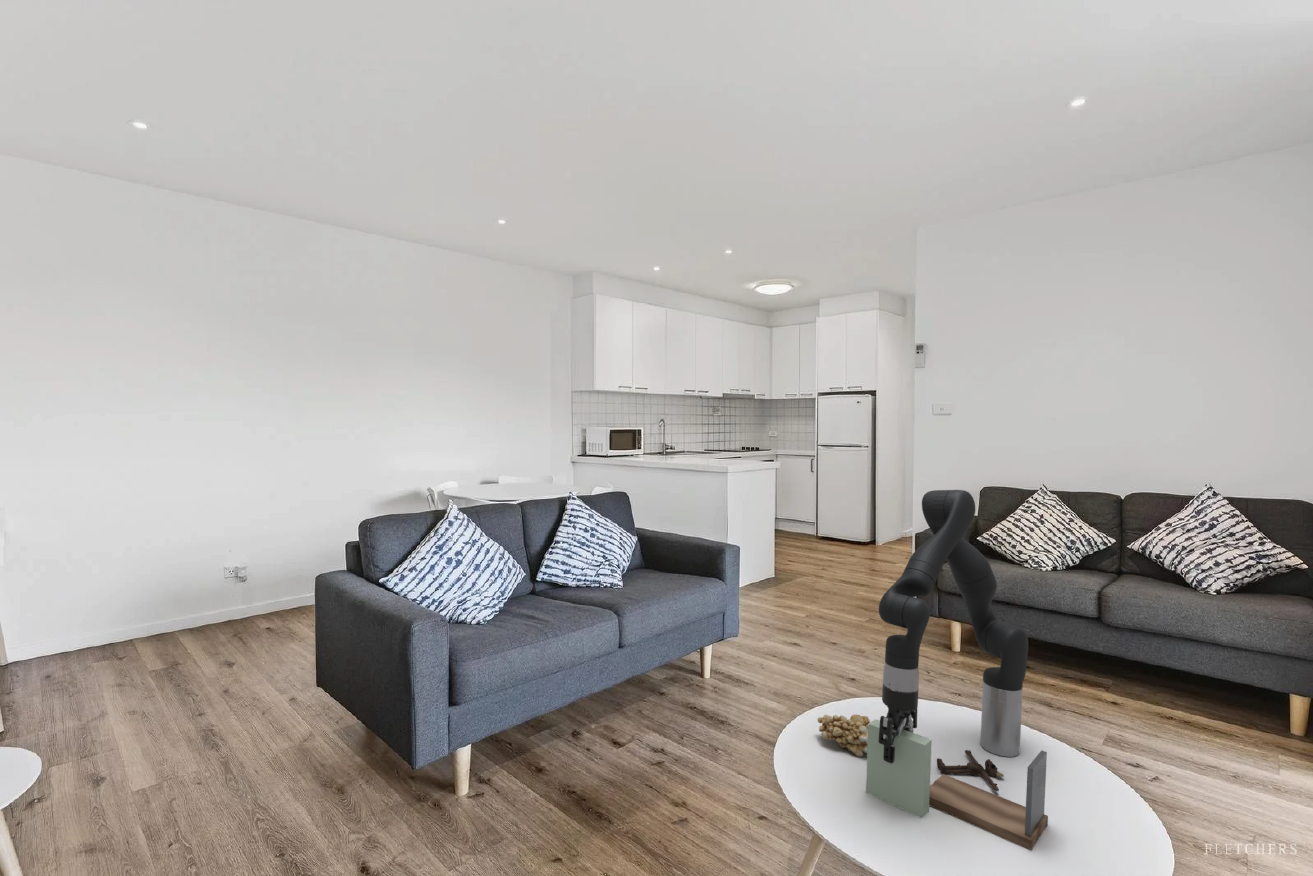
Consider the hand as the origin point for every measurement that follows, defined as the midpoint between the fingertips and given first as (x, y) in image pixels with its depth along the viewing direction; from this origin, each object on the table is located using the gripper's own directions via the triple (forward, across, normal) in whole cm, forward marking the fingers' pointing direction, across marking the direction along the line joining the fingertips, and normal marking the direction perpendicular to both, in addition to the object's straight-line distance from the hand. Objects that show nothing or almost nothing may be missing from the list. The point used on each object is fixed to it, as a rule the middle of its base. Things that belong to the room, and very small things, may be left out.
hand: (897, 755), depth 144 cm
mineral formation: (+11, -16, -21) cm, 28 cm away
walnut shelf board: (+10, -10, +15) cm, 21 cm away
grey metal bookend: (+8, -10, +25) cm, 28 cm away
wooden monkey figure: (+11, -25, +7) cm, 28 cm away
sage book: (+11, 0, 0) cm, 11 cm away
